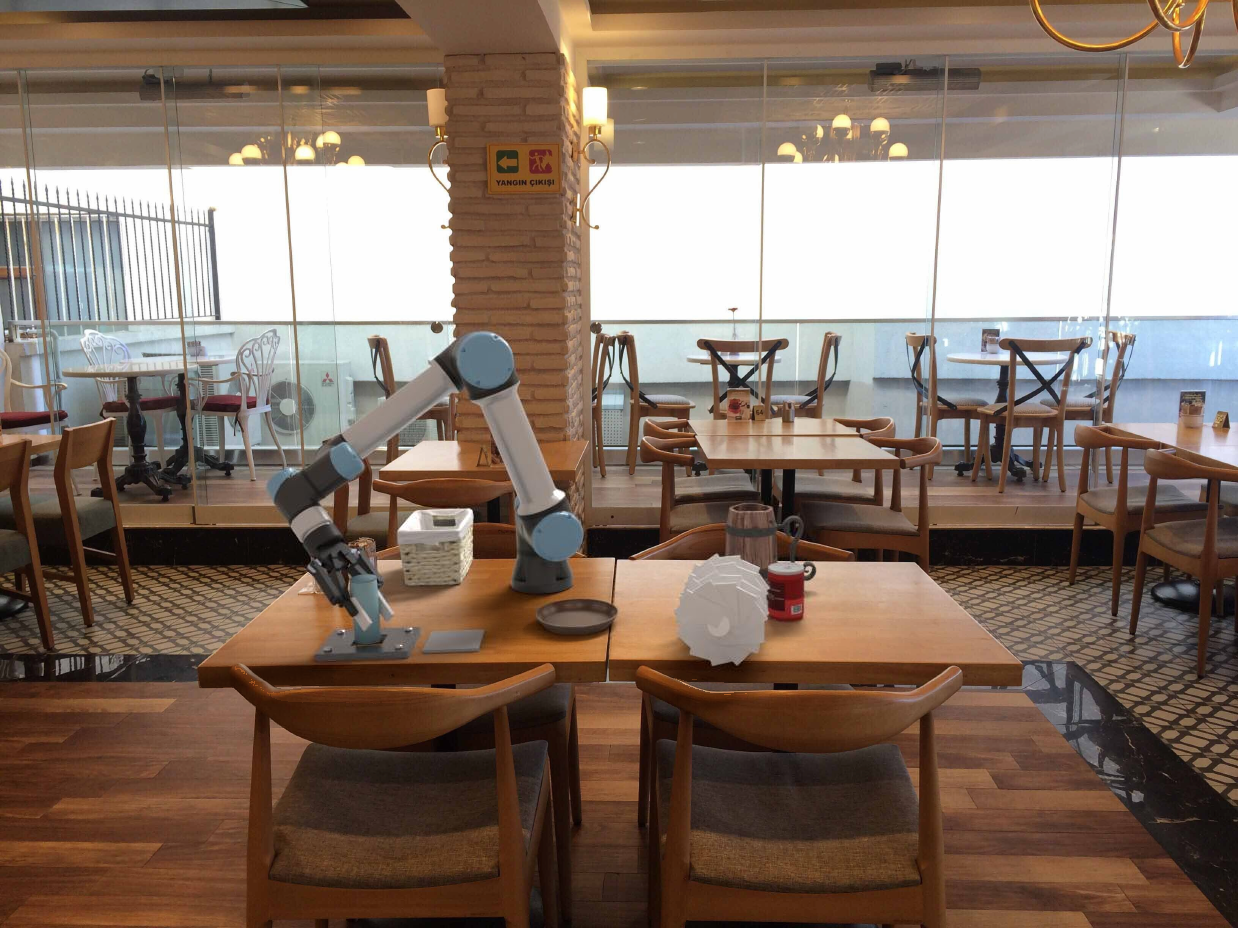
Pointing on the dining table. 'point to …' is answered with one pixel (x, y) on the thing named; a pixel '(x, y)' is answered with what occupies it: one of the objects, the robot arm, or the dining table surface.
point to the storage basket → (436, 547)
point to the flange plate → (345, 648)
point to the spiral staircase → (723, 610)
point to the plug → (366, 607)
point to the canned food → (786, 591)
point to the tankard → (759, 537)
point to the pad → (453, 641)
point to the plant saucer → (577, 616)
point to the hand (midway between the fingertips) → (379, 622)
